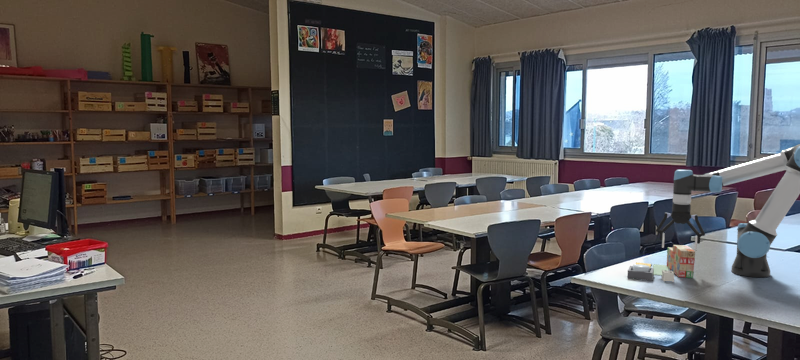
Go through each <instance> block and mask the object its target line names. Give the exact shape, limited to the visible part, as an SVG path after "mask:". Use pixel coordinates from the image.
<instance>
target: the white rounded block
mask: <svg viewBox="0 0 800 360" xmlns="http://www.w3.org/2000/svg"><path fill="white" fill-rule="evenodd" d="M635 264H636V263H635ZM635 264H633V265H632V266H633V269H632V270H633V271H643V272H649V270H650V268H651V267H649V266H647V265H640V264H636V265H635Z"/></svg>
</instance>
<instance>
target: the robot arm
mask: <svg viewBox="0 0 800 360" xmlns="http://www.w3.org/2000/svg"><path fill="white" fill-rule="evenodd" d="M783 171H785V173H784V175H783V176H782V177H781V179H780V181H779V182H778V183H777V185H776V186H775V188H774V189H773V190H772V193H771V194H770V196H769V197H768V199H767V200H766V201H765V203H764V205H763V206H762V208H761V210H760V211H759V212H758V214H757V215H756V217H755V219H752V220H749V221H748V222H747V223H741V222H740V223H738V224H737V229H736V231H737V235H736V236H737V237H736V238H737V239H736V256H735V258H734V260H733V262H732V265H731V270H730V271H731V273H733V274H736V275H740V276H742V277H743V276H744V277H752V278H768V277H770V276H771V268H770V265H769V262H768V259H767V255H768V252H769V251H770V248H771V245H772V244H773V242H774V241H775V239H776V238H777V236H778V233H777V229H778V227H779V226H780V224H781V223H782V221H783V220H784V218H785V217H786V215H787V214H788V212H789V211H790V209H791V208H792V206H793V205H794V203H795V202H796V200H797V199H798V198H799V196H800V143H798V144H797V145H794V146H792V147H788V148H786V149H783V150H781V152H779V153H777V154H773V155H770V156H765V157H762V158H758V159H754V160H752V161H748V162H744V163H741V164H738V165H733V166H730V167H729V166H728V167H726V168H723V169H718V170H716V171H711V172H707V173H703V174H694V172H693V170H691V169H676V170H675V171H674V176H673V190H672V191H673V192H672V205H671V206H672V207H671V209H672V210H671V213H669V212H664V214H663V215H664V216H663V218H662V220H661V221H660V222H659V224H658V226H657V227H656V229H655V232H656V233H659V241H661V249H662V248H663V249H664V248H665V235H666V234H665V233H666V230H668V229H669V228H671V226H672V225H673V224H675V223H676V224H682V225H684V224H687V226H689V228H690V229H691V230H692V231H693V233H694V234H695V238H694V240H695V241H694V251H695V252H697V250H698V244H699V245H700V244H701V237H705V236H706V233H705V230H704V228H703V227H702V225H701V222H700V220H699V216H698V214H692V213H691V208H692V205H691V203H692V192H703V193H704V192H705V193H713V194H714V193H721V192H722V191H723V190H722V189H723V187H725V186H729V185H732V184H736V183H740V182H744V181H747V180H752V179H757V178H759V177H763V176H768V175H770V174H776V173H779V172H783ZM669 217H671V219H672V220H671V221H670V222H669V223H668V224H665V222H666V220H667V219H668V218H669ZM691 219H693V220H694V221H695V223H696V226H697V228H698V229H699V231H698V230H697V228H696V227H695V226H694V225H693V224H692V223H691V221H690V220H691ZM664 224H665V226H664V227H663V225H664ZM662 227H663V228H662ZM661 228H662V229H661ZM664 232H665V233H664Z"/></svg>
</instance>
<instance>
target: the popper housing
mask: <svg viewBox="0 0 800 360" xmlns="http://www.w3.org/2000/svg"><path fill="white" fill-rule="evenodd" d="M632 269H633V265H630V266H629V267H628V269H627V279H630V278H636V279H635V280H639V279H642V281H649V282H650V281H651V282H652V281H653V279H654V277H653V276H655V275H654V268H653V267H650V270H649V272H643V271H633V270H632Z"/></svg>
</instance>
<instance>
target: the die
mask: <svg viewBox="0 0 800 360" xmlns="http://www.w3.org/2000/svg"><path fill="white" fill-rule="evenodd" d="M661 280H662V282H665V281H672V282H671V283H674V282H675V273H674V272H673V271H672V270H669V271H666V270H662V276H661Z"/></svg>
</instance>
